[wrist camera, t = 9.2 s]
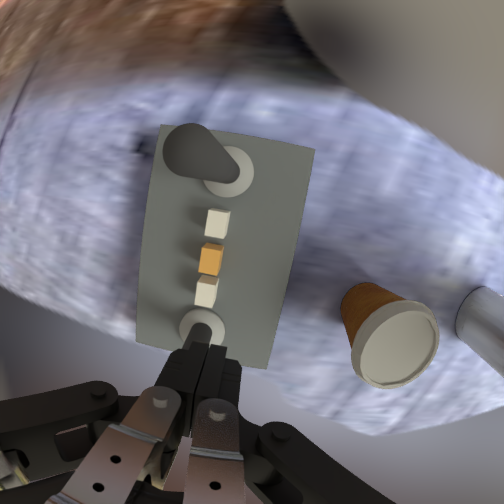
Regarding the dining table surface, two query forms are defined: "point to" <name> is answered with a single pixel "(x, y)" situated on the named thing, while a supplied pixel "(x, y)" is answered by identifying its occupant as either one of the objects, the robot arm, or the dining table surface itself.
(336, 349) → the dining table surface
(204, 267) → the orange small block
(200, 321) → the cable post
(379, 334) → the disposable coffee cup
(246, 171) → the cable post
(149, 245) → the panel
